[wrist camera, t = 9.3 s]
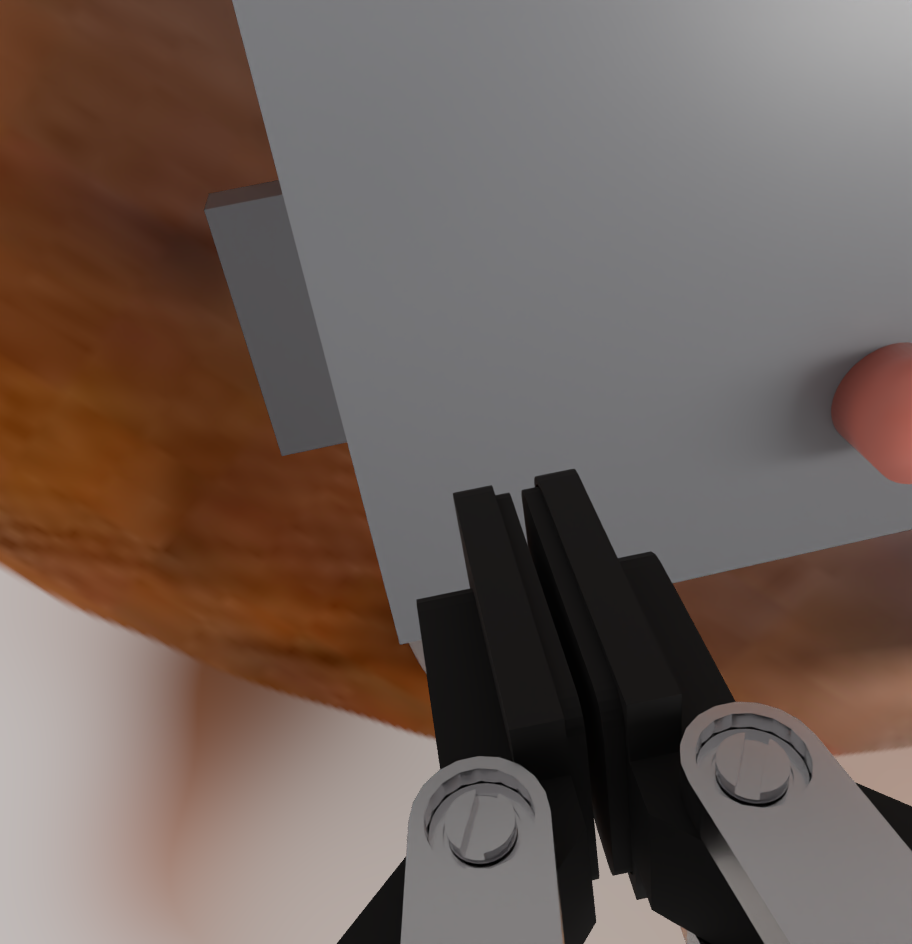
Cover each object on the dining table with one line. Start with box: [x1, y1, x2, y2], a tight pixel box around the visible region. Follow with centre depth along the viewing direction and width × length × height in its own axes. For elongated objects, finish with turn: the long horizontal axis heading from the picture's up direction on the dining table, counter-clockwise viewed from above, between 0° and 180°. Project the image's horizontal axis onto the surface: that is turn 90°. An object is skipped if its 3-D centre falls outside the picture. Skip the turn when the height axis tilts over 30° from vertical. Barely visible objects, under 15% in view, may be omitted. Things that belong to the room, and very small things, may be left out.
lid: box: [204, 0, 912, 645], centre depth 19 cm, size 22×20×4 cm
